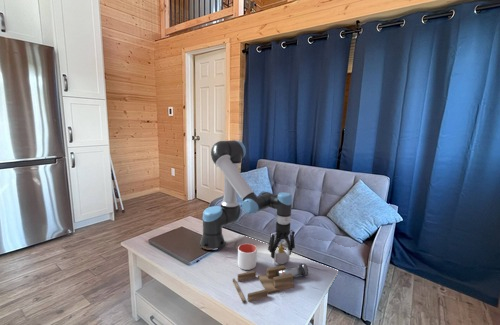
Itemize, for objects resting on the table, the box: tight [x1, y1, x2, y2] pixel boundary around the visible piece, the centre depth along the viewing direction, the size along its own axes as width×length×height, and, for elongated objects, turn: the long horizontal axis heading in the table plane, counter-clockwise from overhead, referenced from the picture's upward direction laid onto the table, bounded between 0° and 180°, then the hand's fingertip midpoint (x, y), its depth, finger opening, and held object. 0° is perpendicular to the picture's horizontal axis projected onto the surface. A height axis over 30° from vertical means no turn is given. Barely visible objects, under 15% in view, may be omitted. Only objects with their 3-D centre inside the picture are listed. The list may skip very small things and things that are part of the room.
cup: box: [237, 243, 258, 271], centre depth 126 cm, size 10×10×10 cm
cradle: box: [232, 264, 295, 304], centre depth 111 cm, size 15×26×5 cm, turn 111°
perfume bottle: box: [275, 240, 291, 265], centre depth 129 cm, size 8×10×12 cm
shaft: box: [277, 262, 309, 278], centre depth 117 cm, size 6×15×6 cm, turn 111°
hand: (280, 261), depth 129 cm, fingers closed on perfume bottle, 8 cm apart
